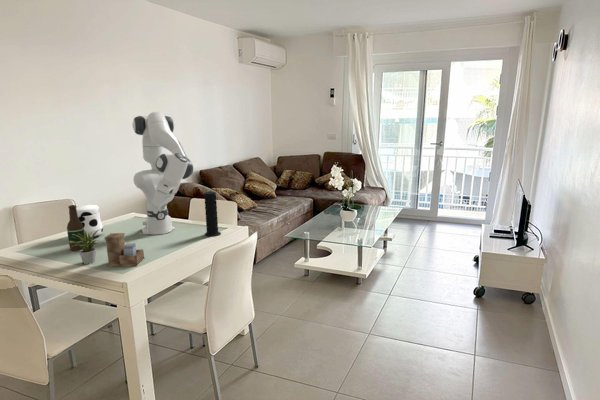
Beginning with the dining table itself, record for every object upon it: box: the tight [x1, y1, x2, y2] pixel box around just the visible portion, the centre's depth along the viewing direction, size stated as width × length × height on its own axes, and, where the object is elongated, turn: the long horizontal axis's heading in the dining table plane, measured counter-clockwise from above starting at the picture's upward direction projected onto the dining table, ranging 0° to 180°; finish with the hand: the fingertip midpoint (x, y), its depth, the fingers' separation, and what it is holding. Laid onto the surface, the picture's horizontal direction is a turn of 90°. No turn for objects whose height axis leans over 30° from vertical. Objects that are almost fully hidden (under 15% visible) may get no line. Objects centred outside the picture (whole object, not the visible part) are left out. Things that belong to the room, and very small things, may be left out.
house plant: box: [68, 229, 101, 265], centre depth 186 cm, size 14×14×16 cm
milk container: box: [68, 204, 104, 240], centre depth 227 cm, size 17×17×18 cm
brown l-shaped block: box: [104, 232, 145, 267], centre depth 184 cm, size 14×10×14 cm
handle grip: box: [203, 190, 222, 238], centre depth 227 cm, size 10×26×10 cm
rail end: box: [124, 242, 137, 255], centre depth 185 cm, size 4×4×8 cm
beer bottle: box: [66, 204, 84, 252], centre depth 205 cm, size 8×8×24 cm
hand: (158, 211), depth 188 cm, fingers open, 8 cm apart
